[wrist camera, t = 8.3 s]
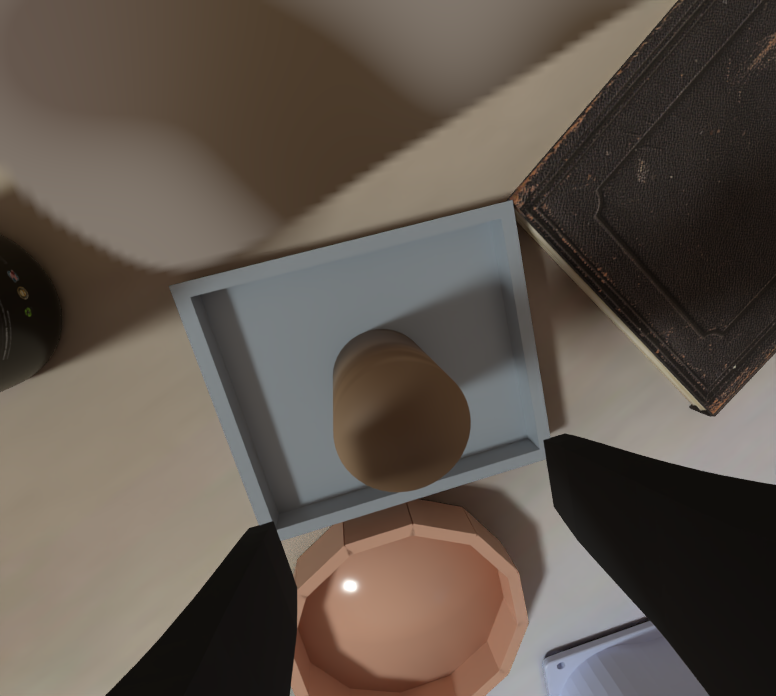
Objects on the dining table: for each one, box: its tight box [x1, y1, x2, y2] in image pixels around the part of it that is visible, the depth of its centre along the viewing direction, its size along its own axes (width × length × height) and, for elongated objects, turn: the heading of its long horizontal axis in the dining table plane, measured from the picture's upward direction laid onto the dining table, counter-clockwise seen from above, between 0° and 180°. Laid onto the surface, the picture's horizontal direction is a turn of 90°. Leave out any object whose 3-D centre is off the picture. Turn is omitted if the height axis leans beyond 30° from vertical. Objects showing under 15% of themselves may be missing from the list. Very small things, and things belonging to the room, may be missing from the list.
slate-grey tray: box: [169, 200, 550, 541], centre depth 18 cm, size 14×12×2 cm
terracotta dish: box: [291, 499, 529, 696], centre depth 21 cm, size 12×12×2 cm
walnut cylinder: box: [333, 329, 471, 492], centre depth 15 cm, size 4×4×6 cm
